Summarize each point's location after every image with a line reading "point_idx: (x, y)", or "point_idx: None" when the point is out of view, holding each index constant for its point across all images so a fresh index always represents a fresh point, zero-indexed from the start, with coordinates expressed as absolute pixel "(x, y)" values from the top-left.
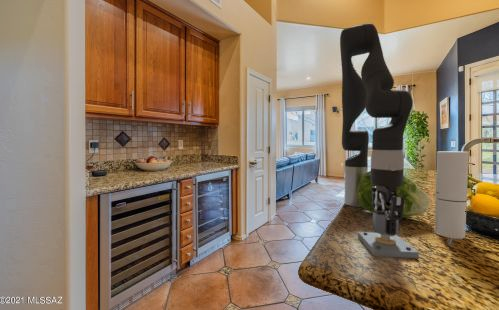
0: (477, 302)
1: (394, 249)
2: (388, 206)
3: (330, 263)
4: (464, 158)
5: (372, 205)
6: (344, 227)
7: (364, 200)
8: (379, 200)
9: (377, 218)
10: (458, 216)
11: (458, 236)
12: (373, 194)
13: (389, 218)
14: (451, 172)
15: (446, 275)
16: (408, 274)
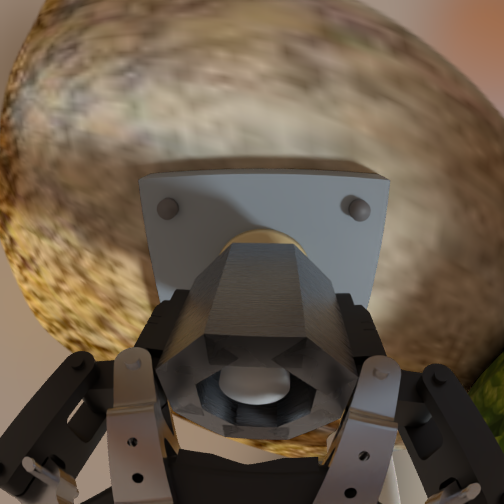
0: (34, 309)
1: (170, 271)
2: (499, 390)
3: (84, 12)
4: None
5: (442, 376)
6: (486, 162)
7: None
8: (306, 487)
9: (205, 311)
10: None
11: (327, 443)
12: (472, 472)
13: (92, 358)
14: None
15: (99, 327)
16: (66, 240)
